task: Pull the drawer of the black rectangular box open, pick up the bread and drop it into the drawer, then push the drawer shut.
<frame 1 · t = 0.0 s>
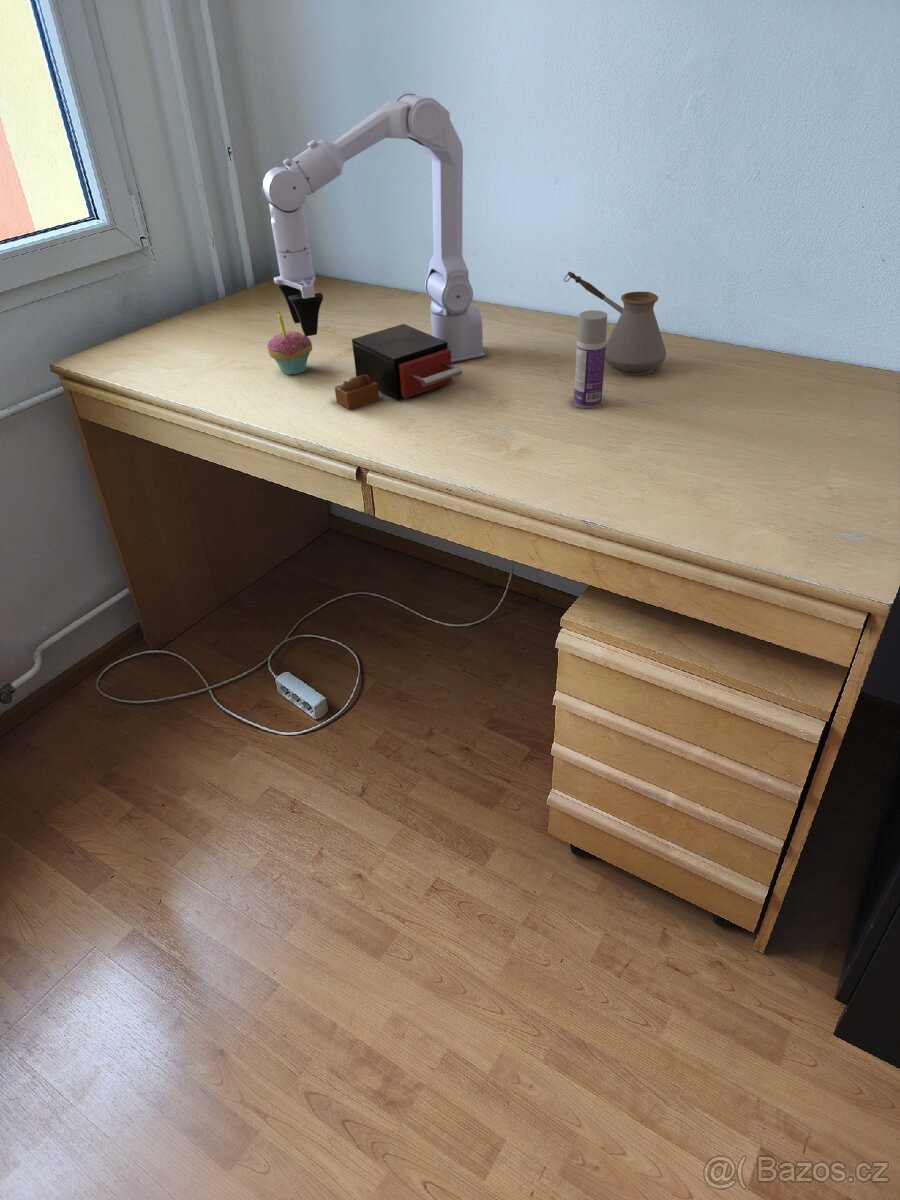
hand: (305, 328, 143), 10 cm above the table, tool pointing down, fingers open, 7 cm apart
coffee pot: (609, 363, 151), on the table
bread: (358, 401, 142), on the table
drawer: (415, 368, 143), point 4 cm above the table, slide at 0.5 cm
container: (587, 403, 137), on the table
cupcake: (293, 370, 155), on the table
black rectangular box: (402, 381, 148), on the table
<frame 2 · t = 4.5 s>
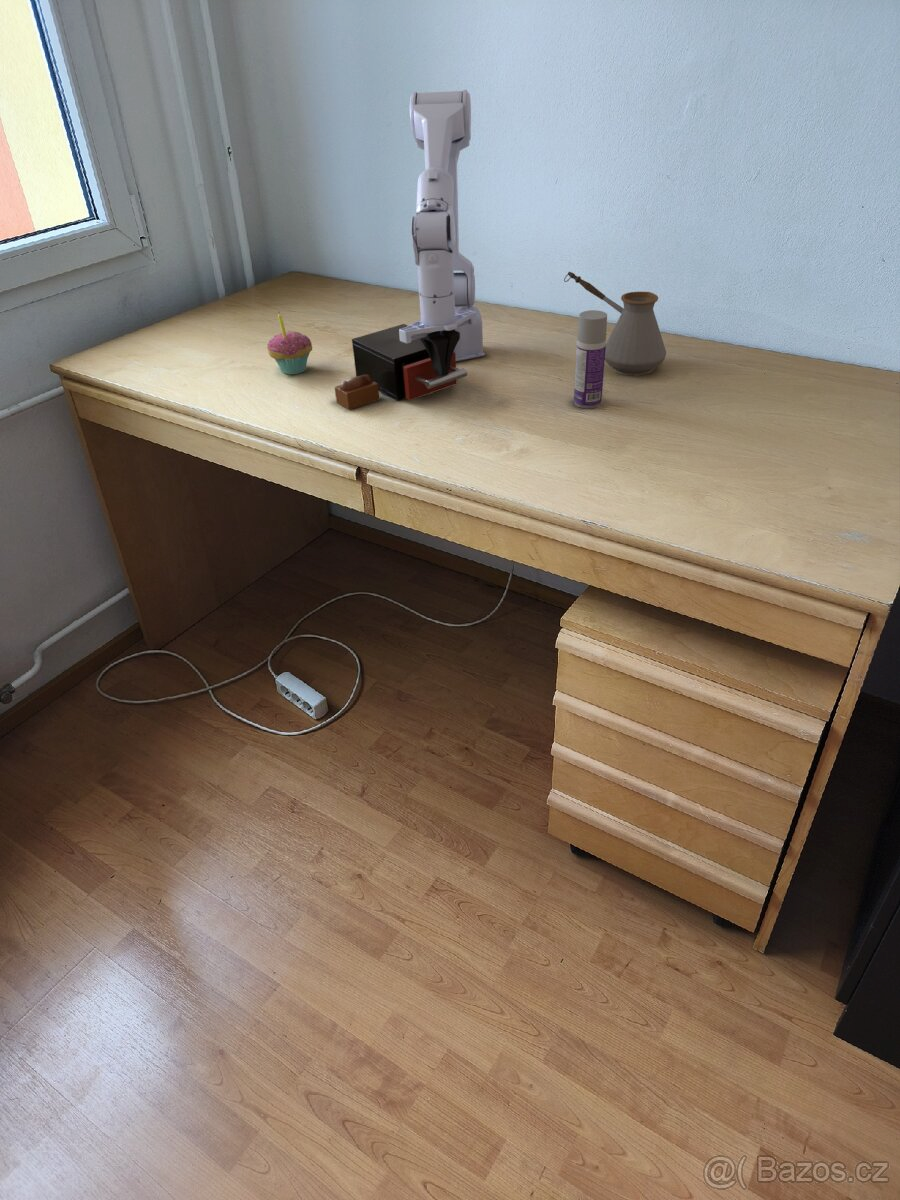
hand: (441, 374, 137), 5 cm above the table, tool pointing down, fingers closed, pressing on drawer
drawer: (419, 370, 142), point 4 cm above the table, slide at 1.8 cm, touching gripper
everything else where it was.
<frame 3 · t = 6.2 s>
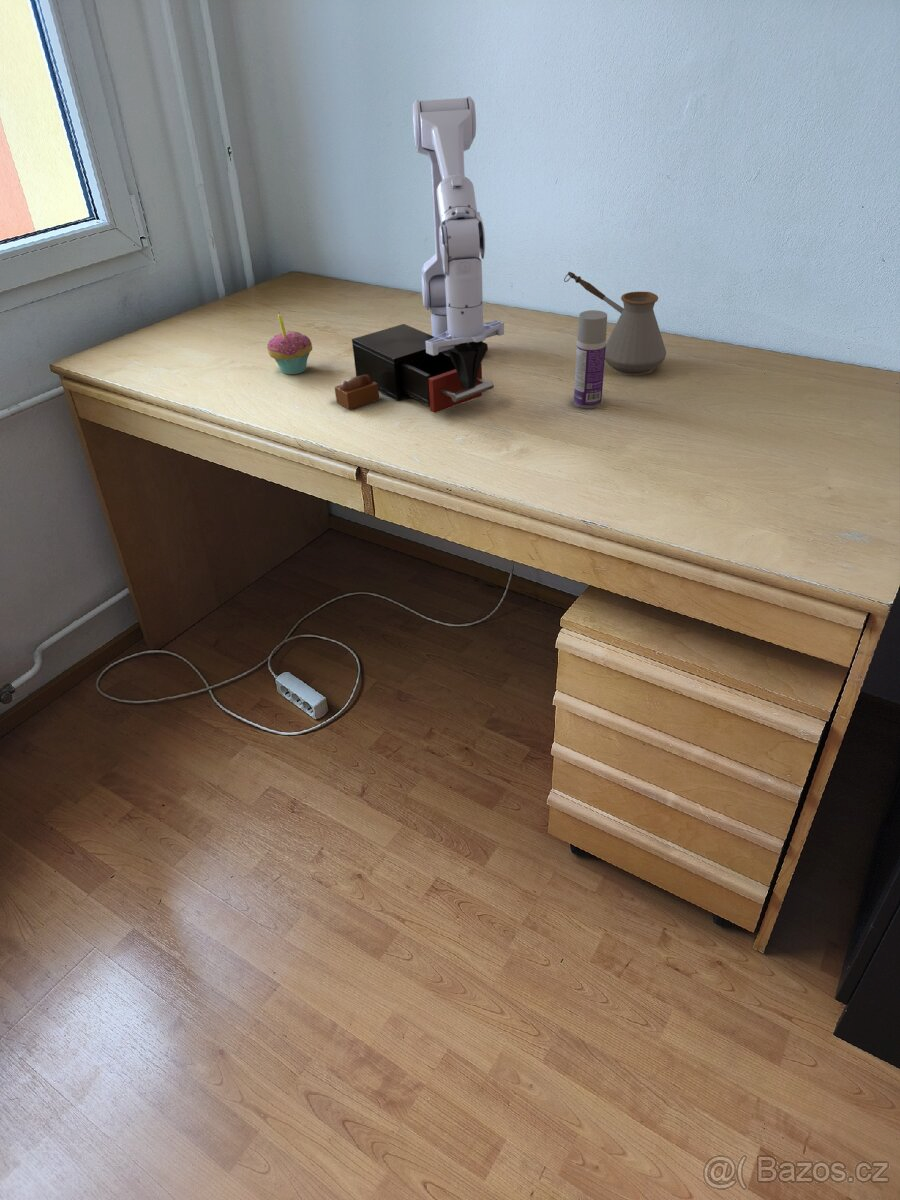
hand: (467, 387, 132), 5 cm above the table, tool pointing down, fingers closed, pressing on drawer
drawer: (444, 381, 137), point 4 cm above the table, slide at 9.1 cm, touching gripper
everything else where it was.
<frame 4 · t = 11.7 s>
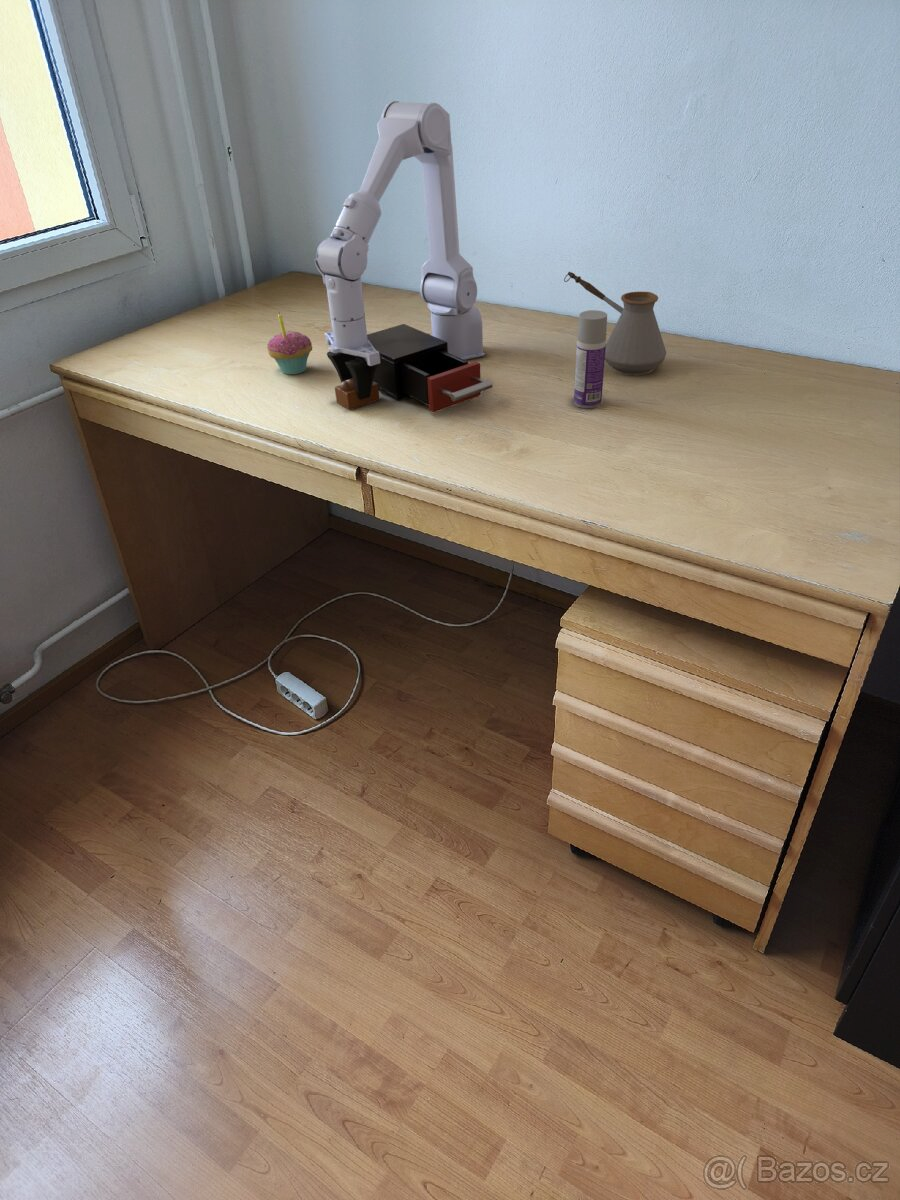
hand: (357, 393, 141), 1 cm above the table, tool pointing down, fingers closed on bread, 4 cm apart
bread: (358, 401, 141), on the table, touching gripper
drawer: (443, 381, 137), point 4 cm above the table, slide at 8.7 cm
everything else where it was.
when the fingers open (4 cm above the table, at t = 16.5 s): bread stays where it is, resting on drawer.
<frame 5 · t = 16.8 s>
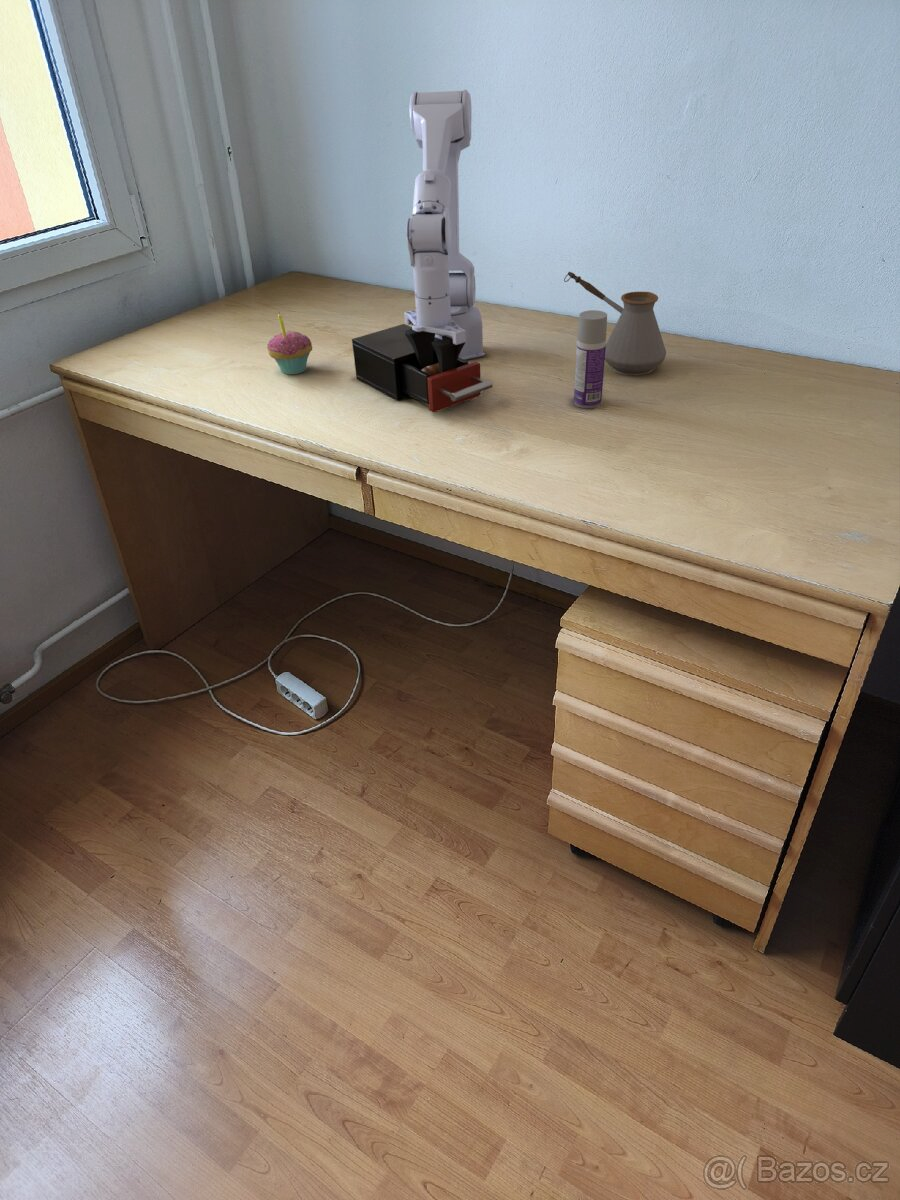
hand: (436, 374, 138), 5 cm above the table, tool pointing down, fingers open, 6 cm apart
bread: (437, 388, 139), point 2 cm above the table, touching drawer
drawer: (443, 381, 137), point 4 cm above the table, slide at 8.7 cm, touching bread
everything else where it was.
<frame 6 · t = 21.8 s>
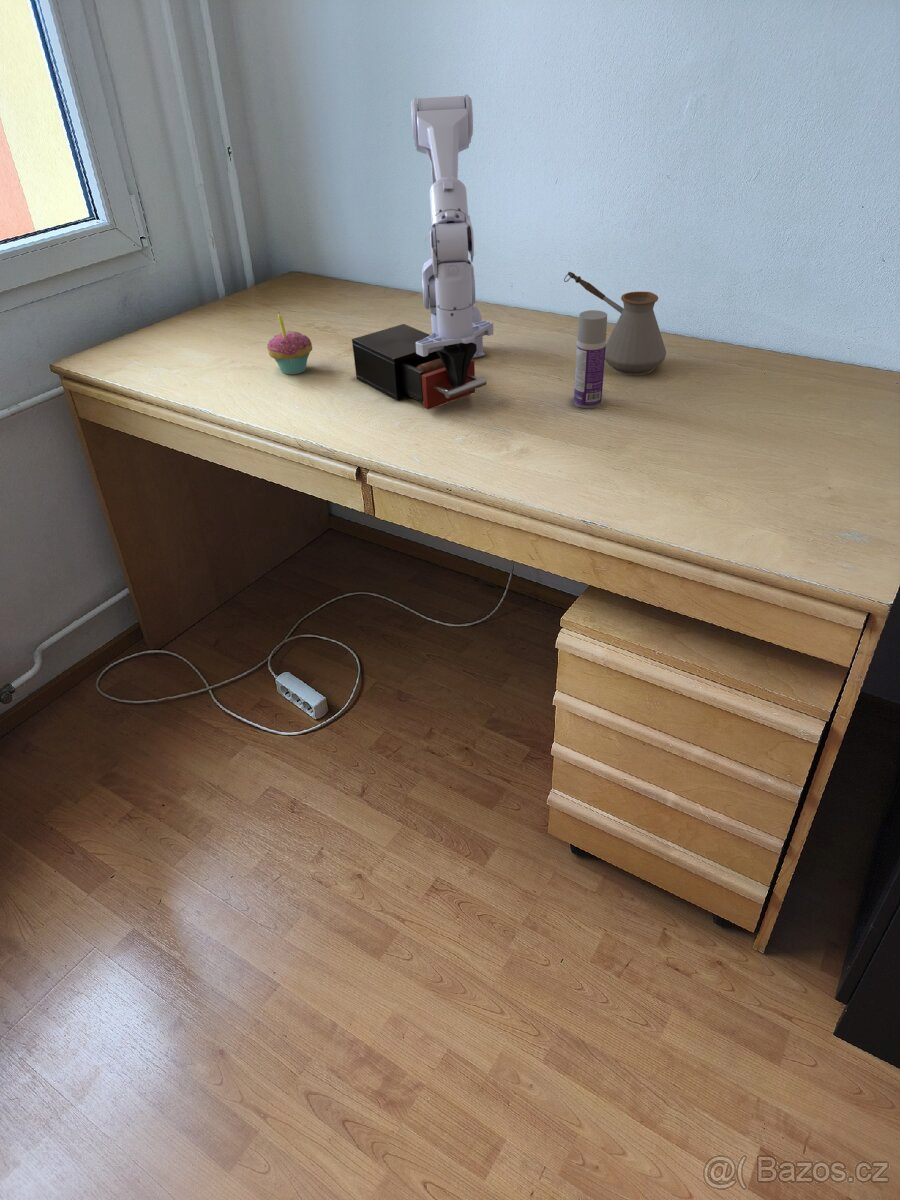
hand: (457, 386, 135), 4 cm above the table, tool pointing down, fingers closed, pressing on drawer
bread: (432, 385, 141), point 2 cm above the table, touching drawer
drawer: (437, 378, 138), point 4 cm above the table, slide at 7.1 cm, touching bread, gripper
everything else where it was.
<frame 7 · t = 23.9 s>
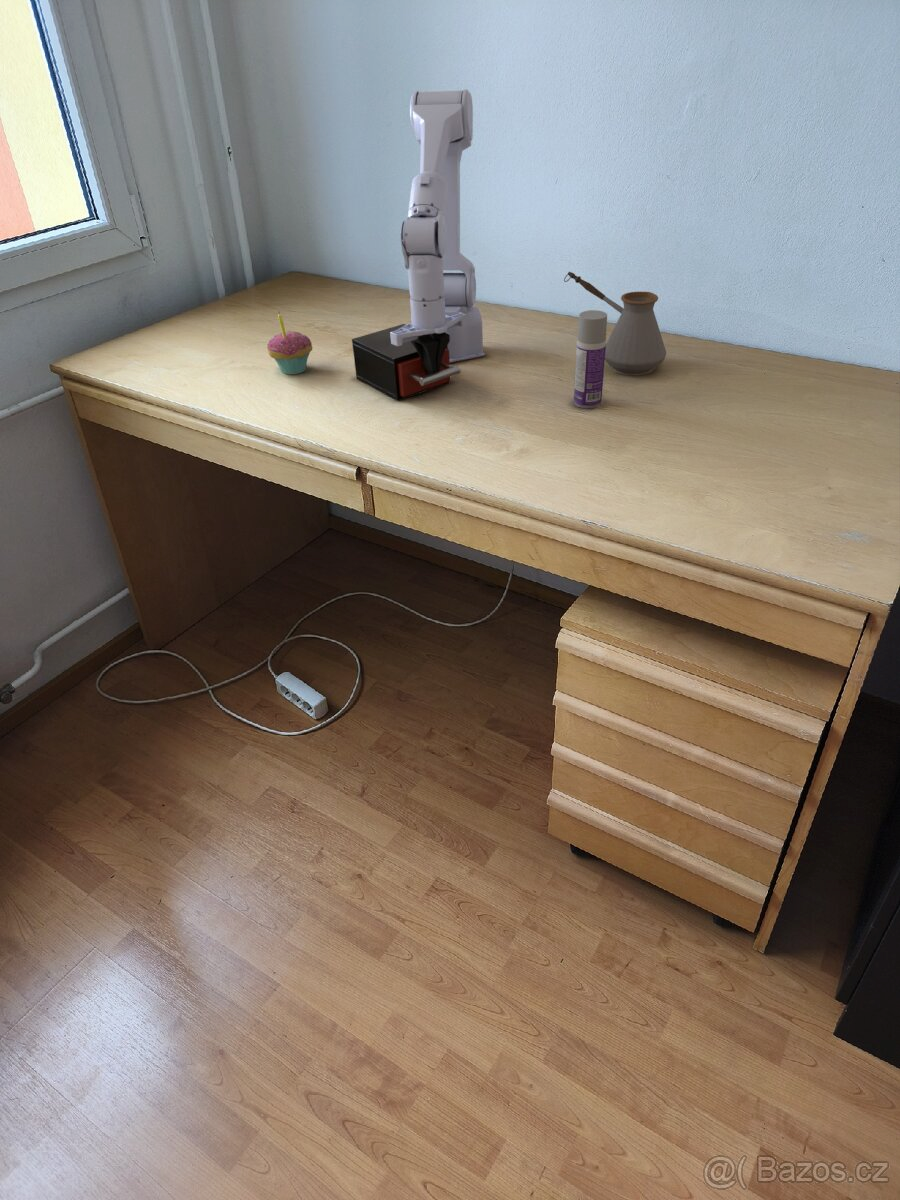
hand: (432, 375, 139), 4 cm above the table, tool pointing down, fingers closed, pressing on drawer
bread: (408, 374, 145), point 2 cm above the table, touching drawer
drawer: (413, 367, 143), point 4 cm above the table, slide at 0.0 cm, touching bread, gripper, black rectangular box
everything else where it was.
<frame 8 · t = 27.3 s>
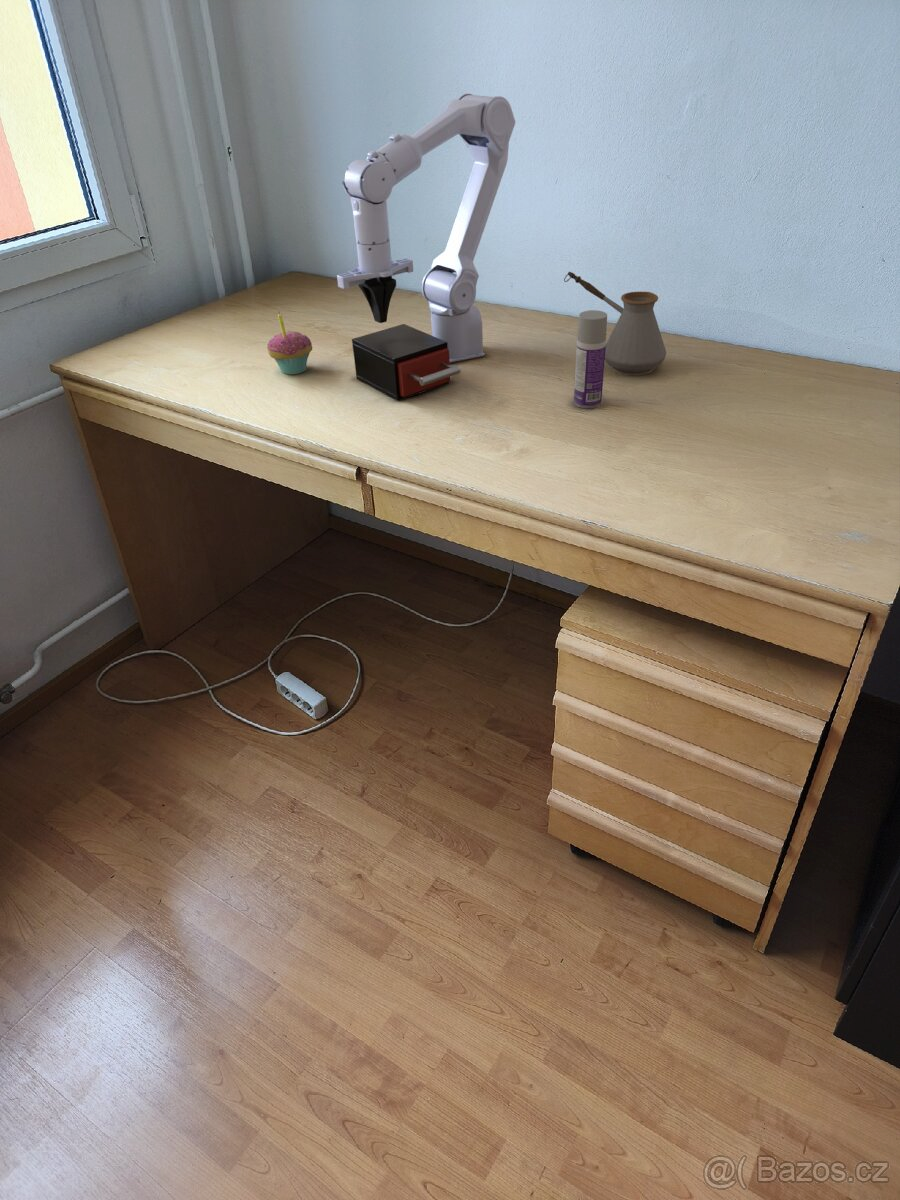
hand: (380, 321, 144), 10 cm above the table, tool pointing down, fingers closed
drawer: (413, 367, 143), point 4 cm above the table, slide at 0.0 cm, touching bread, black rectangular box
everything else where it was.
at the end: drawer pulled out 9.1 cm at the most during the clip, back to where it started at the end; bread inside the target area in the black rectangular box (1.1 cm from its centre), point 2.0 cm above the black rectangular box's base; drawer slide at 0.0 cm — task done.
